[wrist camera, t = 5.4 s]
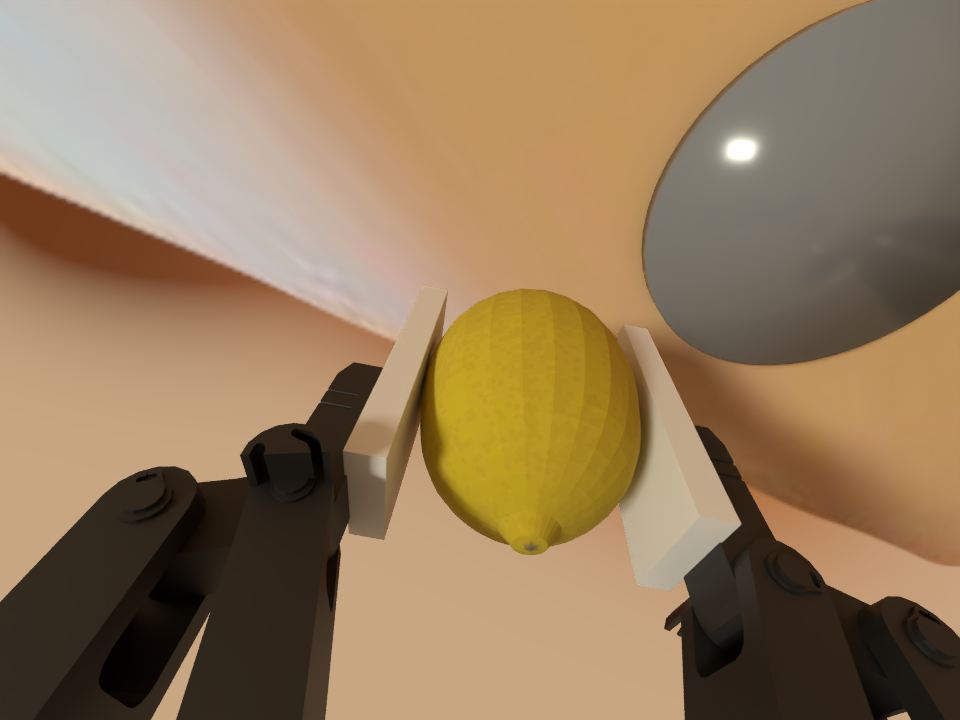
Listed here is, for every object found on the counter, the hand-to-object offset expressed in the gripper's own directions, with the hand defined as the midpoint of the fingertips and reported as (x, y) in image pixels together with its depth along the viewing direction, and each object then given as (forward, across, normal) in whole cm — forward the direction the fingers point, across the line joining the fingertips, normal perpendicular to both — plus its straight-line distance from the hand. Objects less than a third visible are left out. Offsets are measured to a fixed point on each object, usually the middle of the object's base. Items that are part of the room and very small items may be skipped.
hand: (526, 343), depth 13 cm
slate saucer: (+7, -12, -4) cm, 14 cm away
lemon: (+1, 0, 0) cm, 1 cm away
